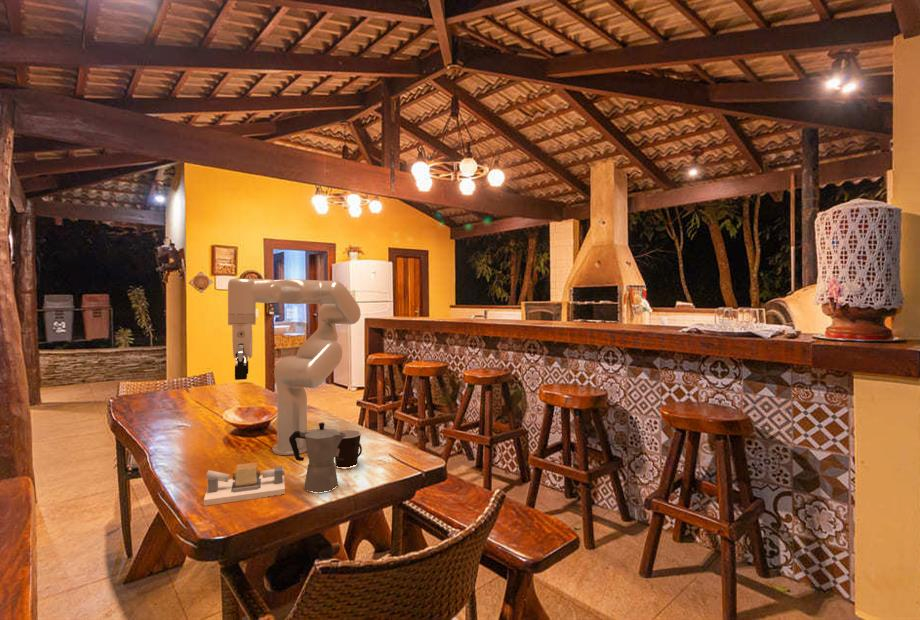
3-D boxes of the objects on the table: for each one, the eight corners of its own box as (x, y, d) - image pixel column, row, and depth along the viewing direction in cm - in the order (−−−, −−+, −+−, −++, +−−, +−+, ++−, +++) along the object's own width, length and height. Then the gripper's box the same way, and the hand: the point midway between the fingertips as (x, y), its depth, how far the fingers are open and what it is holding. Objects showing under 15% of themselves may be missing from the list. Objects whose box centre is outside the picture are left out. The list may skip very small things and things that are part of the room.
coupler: (260, 479, 128) (260, 462, 127) (259, 486, 123) (259, 467, 123) (233, 483, 125) (233, 464, 125) (232, 489, 121) (232, 470, 121)
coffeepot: (348, 480, 133) (349, 418, 132) (341, 494, 123) (342, 427, 123) (294, 480, 132) (294, 418, 131) (283, 494, 122) (283, 427, 122)
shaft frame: (283, 477, 134) (283, 454, 133) (284, 494, 123) (285, 469, 122) (208, 487, 126) (208, 462, 126) (202, 506, 115) (202, 479, 115)
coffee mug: (331, 462, 146) (331, 431, 146) (358, 459, 150) (358, 428, 149) (334, 475, 136) (334, 442, 135) (364, 472, 139) (364, 439, 138)
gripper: (254, 321, 131) (254, 381, 132) (256, 318, 147) (256, 371, 148) (225, 321, 129) (225, 382, 129) (230, 318, 144) (230, 372, 145)
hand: (241, 376), depth 138 cm, fingers open, 9 cm apart
